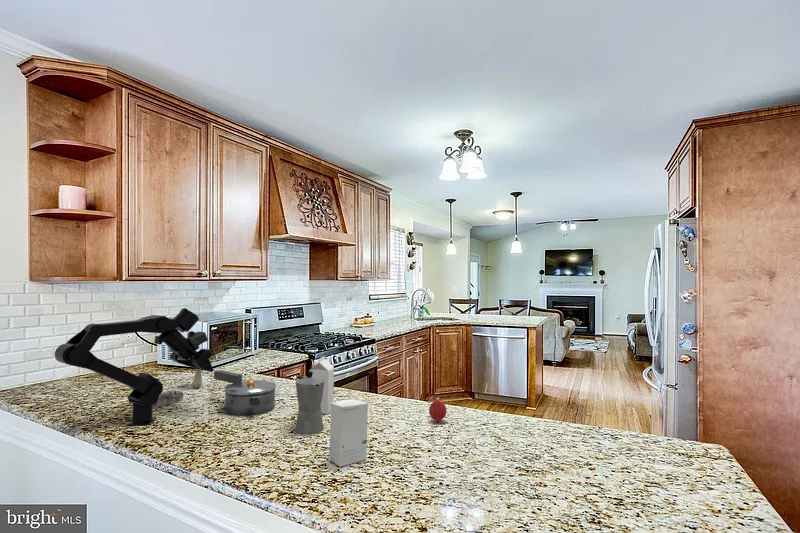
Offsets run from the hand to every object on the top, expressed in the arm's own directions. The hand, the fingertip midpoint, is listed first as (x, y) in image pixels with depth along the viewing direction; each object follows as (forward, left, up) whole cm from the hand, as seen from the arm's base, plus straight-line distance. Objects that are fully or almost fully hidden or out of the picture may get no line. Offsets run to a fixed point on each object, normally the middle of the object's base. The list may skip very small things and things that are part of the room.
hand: (206, 369), depth 159 cm
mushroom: (+30, +10, -14) cm, 34 cm away
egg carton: (+9, +16, -14) cm, 23 cm away
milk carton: (-11, -42, -14) cm, 45 cm away
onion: (-29, -80, -14) cm, 86 cm away
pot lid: (-1, -12, -6) cm, 14 cm away
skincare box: (-55, -49, -14) cm, 75 cm away
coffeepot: (-29, -38, -14) cm, 50 cm away
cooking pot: (-5, -17, -13) cm, 22 cm away
